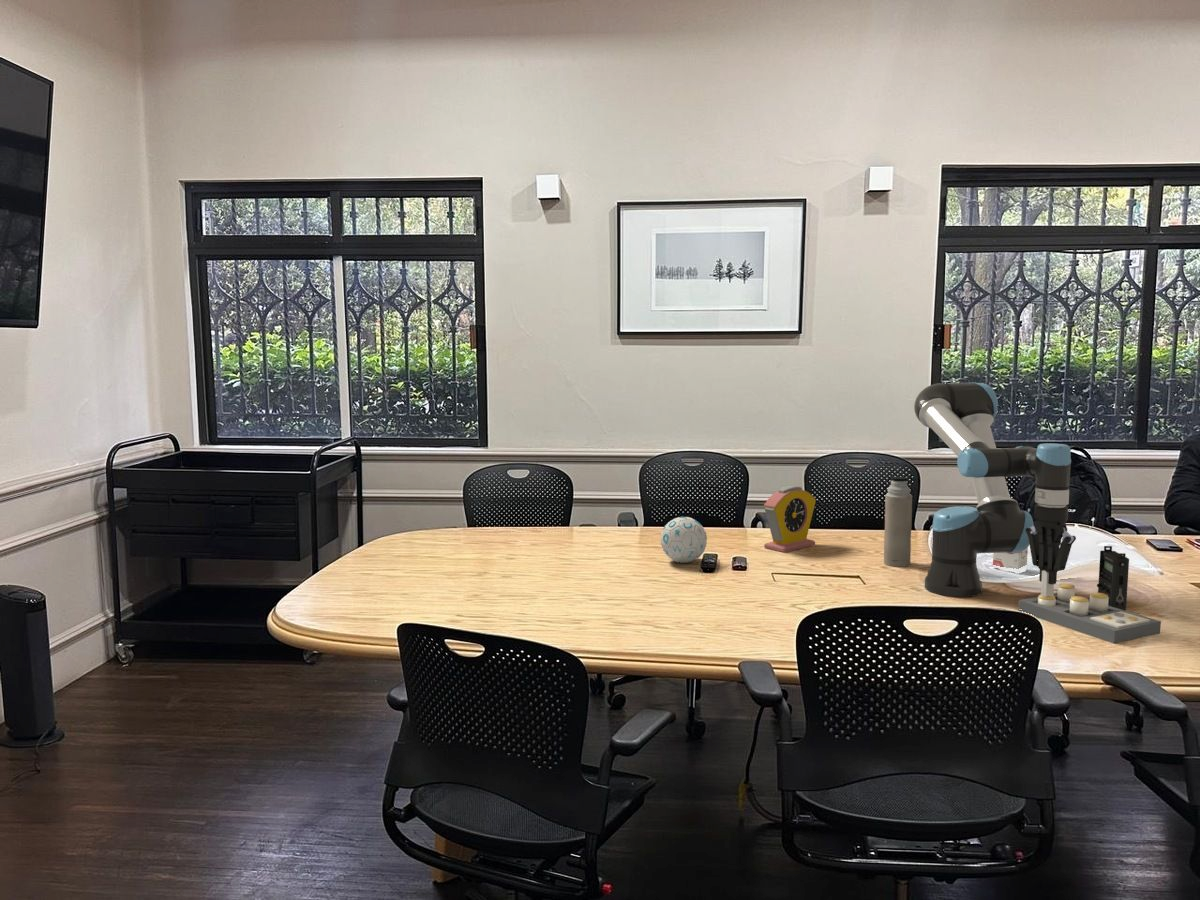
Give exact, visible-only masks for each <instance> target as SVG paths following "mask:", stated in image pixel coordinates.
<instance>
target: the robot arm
mask: <svg viewBox="0 0 1200 900" xmlns="http://www.w3.org/2000/svg"><path fill="white" fill-rule="evenodd" d="M998 405H999V402H998V397H997V395H996V392H995V390H994V389H993V388H992V387H991V386H990V385H989V384H987V383H983V382H973V381H972V382H971V381H970V382H955V383H954V382H953V383H950V382H948V383H947V382H945V383H942V382H941V383H939V382H938V383H934V384H930V385H928V386H926V387H925V388H924V389H922V390H921V391H920V392H919V394H918V395H917V396H916V398H915V401H914V406H913V407H914V408H913V410H914V413H915V417H916V419H918V421H919V422H920V423H921V424H922V425H923V426H924V427H926V428H929V429H931V430H932V431H933V432H934V433H935V434H936V435H937V436H938V437H939V439H941V440H942V441H943V442H944V444H945V445H947V446H948V448H949V449H950V450H951V451H952V452H953V453H954V454H955V456H956V457H957V463H956V464H957V468H958V470H959V473H960V475H962V476H963V477H965V478H971V481H972V485H973V489H974V494H975V497H976V500H977V503H978V504H977V505H976V507H973V506H966V505H964V506H963V505H962V506H960V505H959V506H956V505H955V506H949V507H944V508H941V509H939V510H937V511H936V512H935V513H934V515H933V520H932V525H931V529H932V537H931V538H932V541H931V542H932V543H931V546H932V548H931V563H930V565H929V568H928V571H927V575H926V576H925V578H924V588H925V589H926V590H927V591H929V592H931V593H934V594H937V595H941V596H948V597H957V598H958V597H960V598H961V597H962V598H963V597H967V598H968V597H975V596H979V595H981V594H982V593H983V582H982V581H981V579H980V573H979V569H978V566H977V557H978V556H977V554H993V553H1012V552H1020V551H1023V550H1025V549H1026V548H1027V547H1028V548H1029V549H1030V550H1029V551H1030V555H1031V562H1032V565H1033V566H1034V567H1035V566H1036V567H1038V569H1039V579H1038V580H1039V582H1041V585H1040V594H1041V595H1042V596H1045V597H1048V596H1053V595H1054V594H1055V591H1054V590H1055V589H1054V588H1055V584H1057V578H1058V572H1062V571H1064V570H1066V567H1067V562H1068V559H1069V556H1070V553H1071V549H1072V545H1073V543H1074V542H1075V541H1076V539H1077V536H1075V535H1072V534H1071V533H1069V532H1068V527H1067V521H1068V519H1069V507H1068V505H1069V504H1070V503H1069V502H1070V501H1069V500H1070V480H1071V469H1072V468H1071V465H1072V458H1071V456H1072V455H1071V454H1072V453H1071V447H1070V446H1069V445H1067V444H1065V443H1051V442H1049V443H1039V444H1038V445H1037V448H1035V447H1032V446H1027V445H1026V446H1025V445H1024V446H1023V445H1020V446H1016V447H1011V448H1010V447H1008V448H1007V447H1006V448H1003V447H1002V448H1001V447H1000V448H997V446H996V442H995V440H994V435H993V432H992V427H991V425H992V424H993V423H994V421H995V417H996V416H997V413H998V410H999V409H998ZM1007 477H1013V478H1014V477H1031V478H1035V486H1034V487H1035V489H1034V491H1035V494H1034V502H1035V505H1034V511H1033V512H1034V514H1033V517H1032V515H1031V514H1030V513H1029V512H1028V511H1027V510H1022V509H1021V508H1020V506H1019V502H1018V501H1017V500H1016V499H1014V498H1012V497H1011V495H1010V492H1009V489H1008V484H1007V481H1006V478H1007ZM1033 518H1034V519H1035V521H1033Z"/></svg>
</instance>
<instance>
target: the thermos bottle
mask: <svg viewBox="0 0 1200 900" xmlns="http://www.w3.org/2000/svg"><path fill="white" fill-rule="evenodd" d="M890 479H891V481H890V486H888V487H887V493H886V494H885V498H884V499H885V500H884V501H885V503H884V508H885V509H884V536H883V537H884V538H883V539H884V541H883V542H884V544H883V545H884V546H883V564H884V565H886V566H889V567H890V566H891V567H897V568H900V567H901V568H902V567H903V568H904V567H905V568H906V567H909V566H910V565H911V556H912V555H911V550H912V548H911V547H912V540H911V538H912V516H913V515H912V513H913V495H912V494H911V488H910V487H909V486H908V479H909V478H908V477H905V476H892V477H891V478H890Z"/></svg>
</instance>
